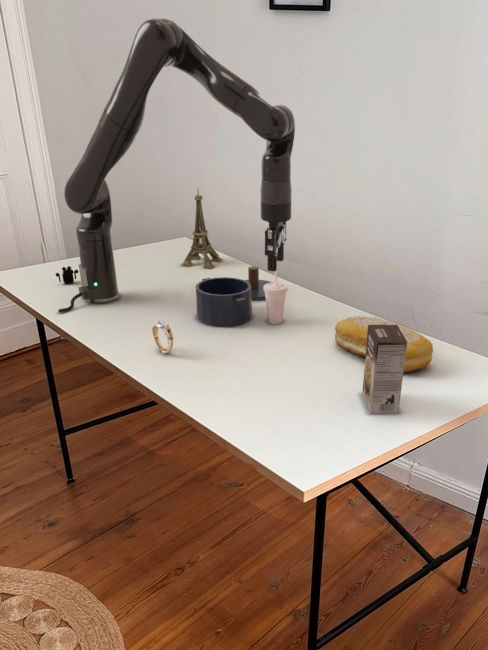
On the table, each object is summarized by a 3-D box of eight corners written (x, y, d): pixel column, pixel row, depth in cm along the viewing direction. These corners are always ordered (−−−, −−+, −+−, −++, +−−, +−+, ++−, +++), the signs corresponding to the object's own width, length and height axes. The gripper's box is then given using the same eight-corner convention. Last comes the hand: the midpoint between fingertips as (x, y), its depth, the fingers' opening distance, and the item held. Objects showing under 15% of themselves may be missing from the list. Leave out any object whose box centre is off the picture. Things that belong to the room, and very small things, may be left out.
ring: (177, 355, 165) (174, 324, 160) (165, 359, 163) (162, 327, 159) (163, 346, 170) (160, 315, 165) (151, 349, 168) (148, 318, 163)
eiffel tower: (180, 265, 223) (175, 183, 208) (192, 256, 231) (188, 177, 217) (211, 269, 220) (207, 186, 206) (222, 259, 229) (219, 179, 214)
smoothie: (288, 317, 186) (289, 266, 178) (285, 326, 181) (286, 274, 173) (264, 316, 187) (264, 265, 179) (261, 325, 182) (261, 273, 174)
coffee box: (360, 394, 150) (367, 324, 141) (389, 393, 150) (397, 323, 141) (368, 414, 142) (375, 341, 133) (399, 413, 143) (408, 341, 134)
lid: (244, 304, 194) (243, 279, 190) (217, 288, 205) (217, 264, 201) (290, 295, 201) (290, 270, 197) (262, 280, 212) (262, 256, 208)
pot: (218, 334, 176) (217, 302, 171) (184, 310, 190) (181, 280, 185) (266, 323, 183) (266, 292, 178) (229, 300, 196) (229, 271, 192)
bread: (407, 382, 155) (411, 349, 150) (321, 347, 170) (323, 316, 166) (441, 364, 163) (446, 333, 158) (356, 332, 178) (359, 303, 174)
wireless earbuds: (79, 280, 210) (76, 264, 207) (82, 282, 208) (79, 266, 205) (56, 284, 206) (53, 267, 203) (59, 286, 205) (56, 270, 202)
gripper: (267, 192, 173) (267, 256, 182) (254, 204, 161) (255, 273, 170) (296, 193, 171) (295, 258, 181) (285, 206, 160) (284, 275, 169)
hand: (275, 265), depth 175 cm, fingers open, 8 cm apart
